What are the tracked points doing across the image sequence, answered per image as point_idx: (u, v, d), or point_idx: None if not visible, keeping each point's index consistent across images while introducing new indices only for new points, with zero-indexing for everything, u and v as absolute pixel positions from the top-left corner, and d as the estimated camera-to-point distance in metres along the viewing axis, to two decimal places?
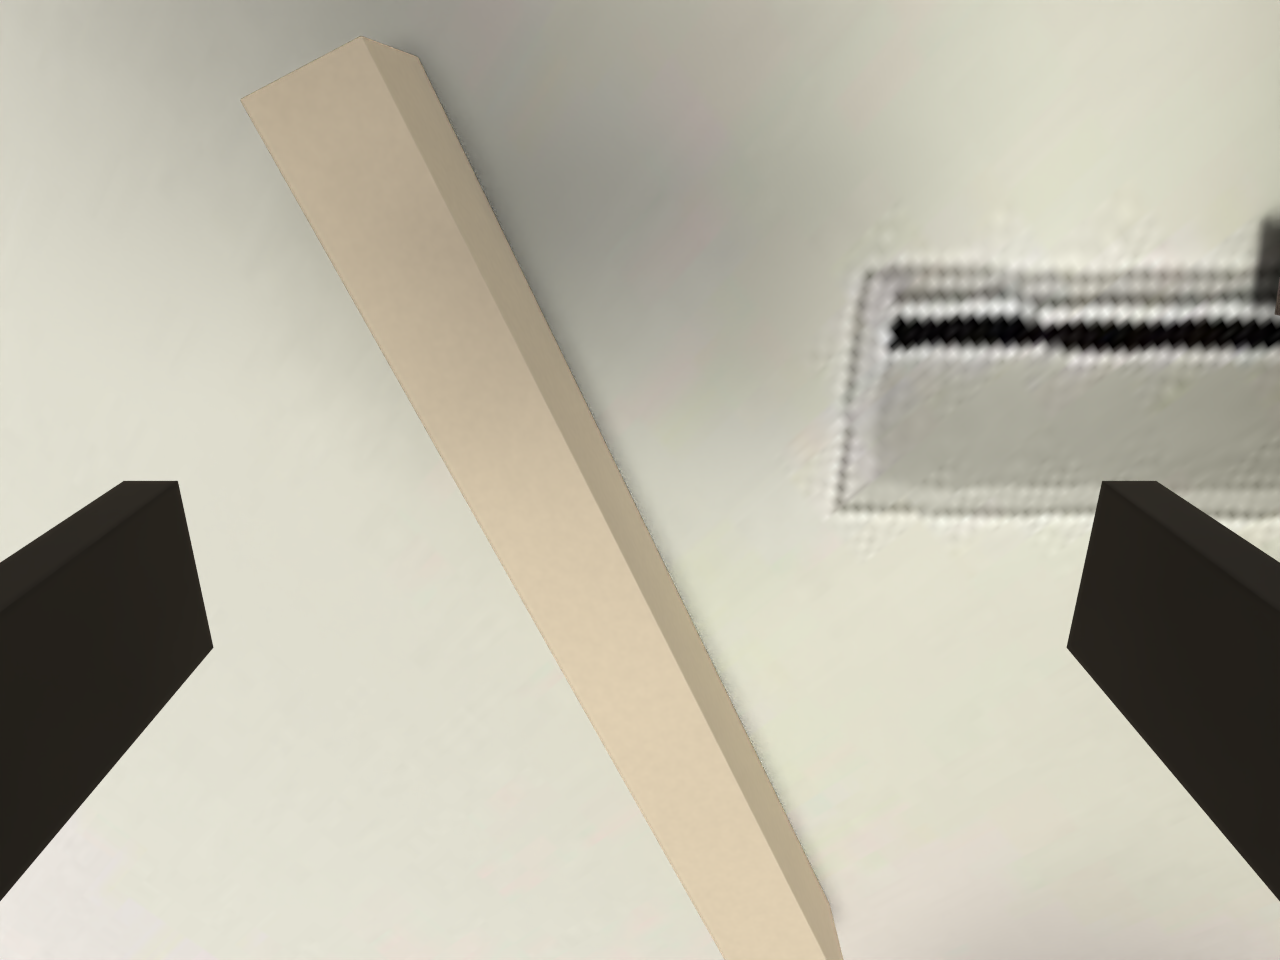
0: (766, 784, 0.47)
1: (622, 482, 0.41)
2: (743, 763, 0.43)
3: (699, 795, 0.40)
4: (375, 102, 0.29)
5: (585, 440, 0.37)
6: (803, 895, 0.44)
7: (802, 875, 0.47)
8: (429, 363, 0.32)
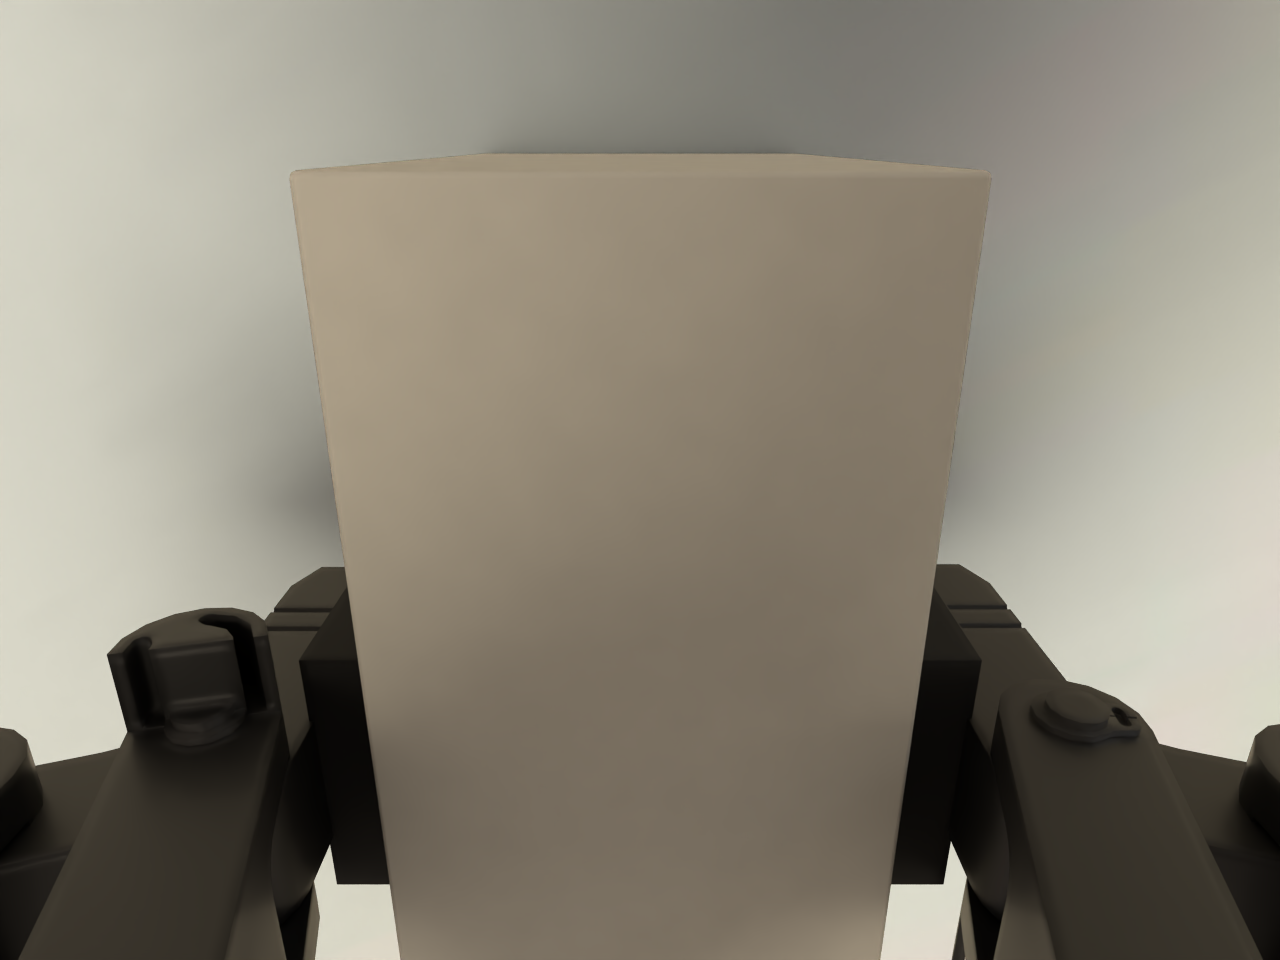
0: None
1: None
2: None
3: None
4: (877, 443, 0.06)
5: None
6: None
7: None
8: None
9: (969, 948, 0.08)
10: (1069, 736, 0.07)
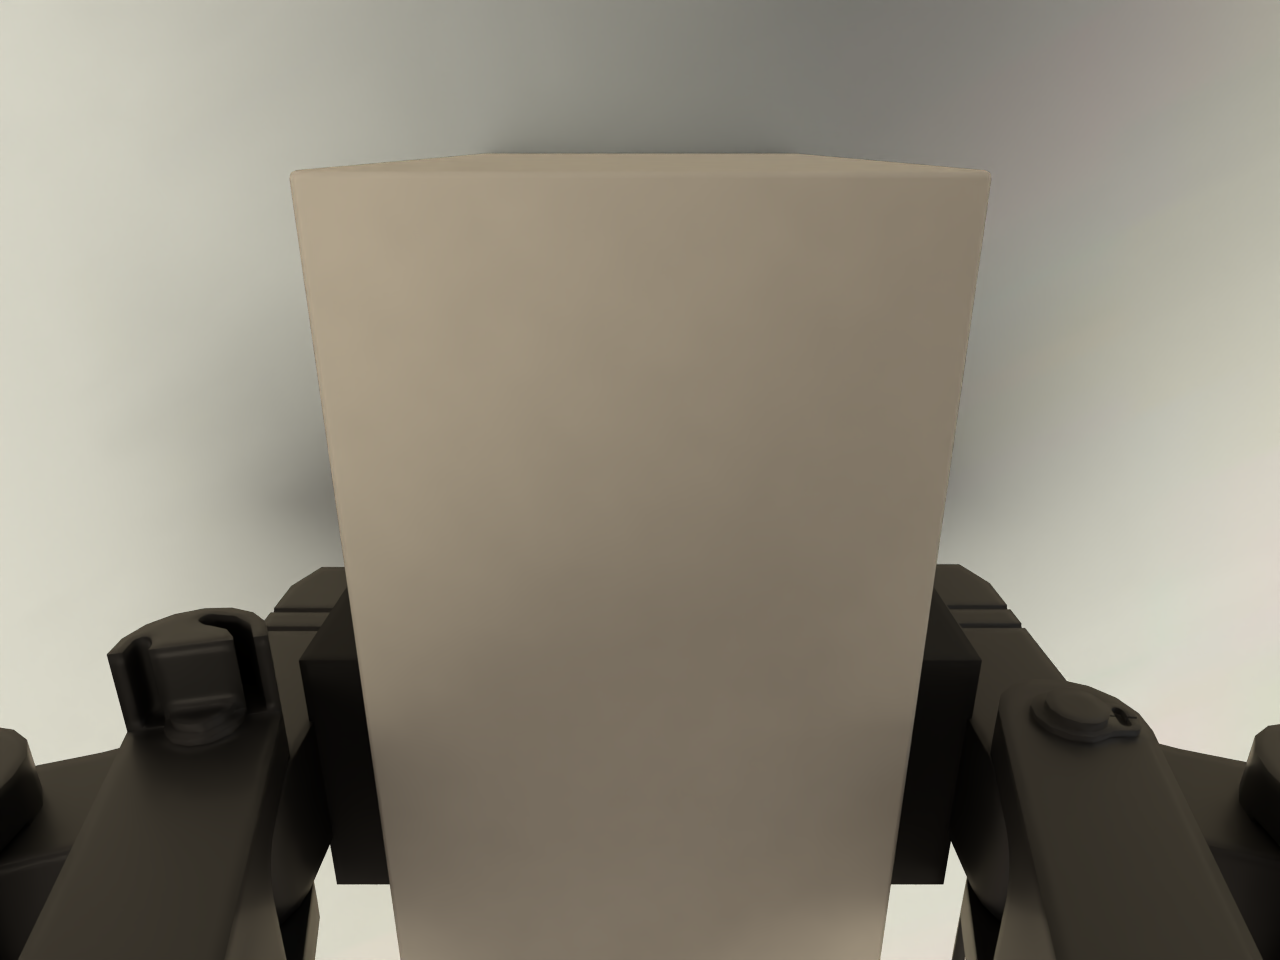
0: None
1: None
2: None
3: None
4: (877, 442, 0.06)
5: None
6: None
7: None
8: None
9: (969, 948, 0.08)
10: (1069, 736, 0.07)
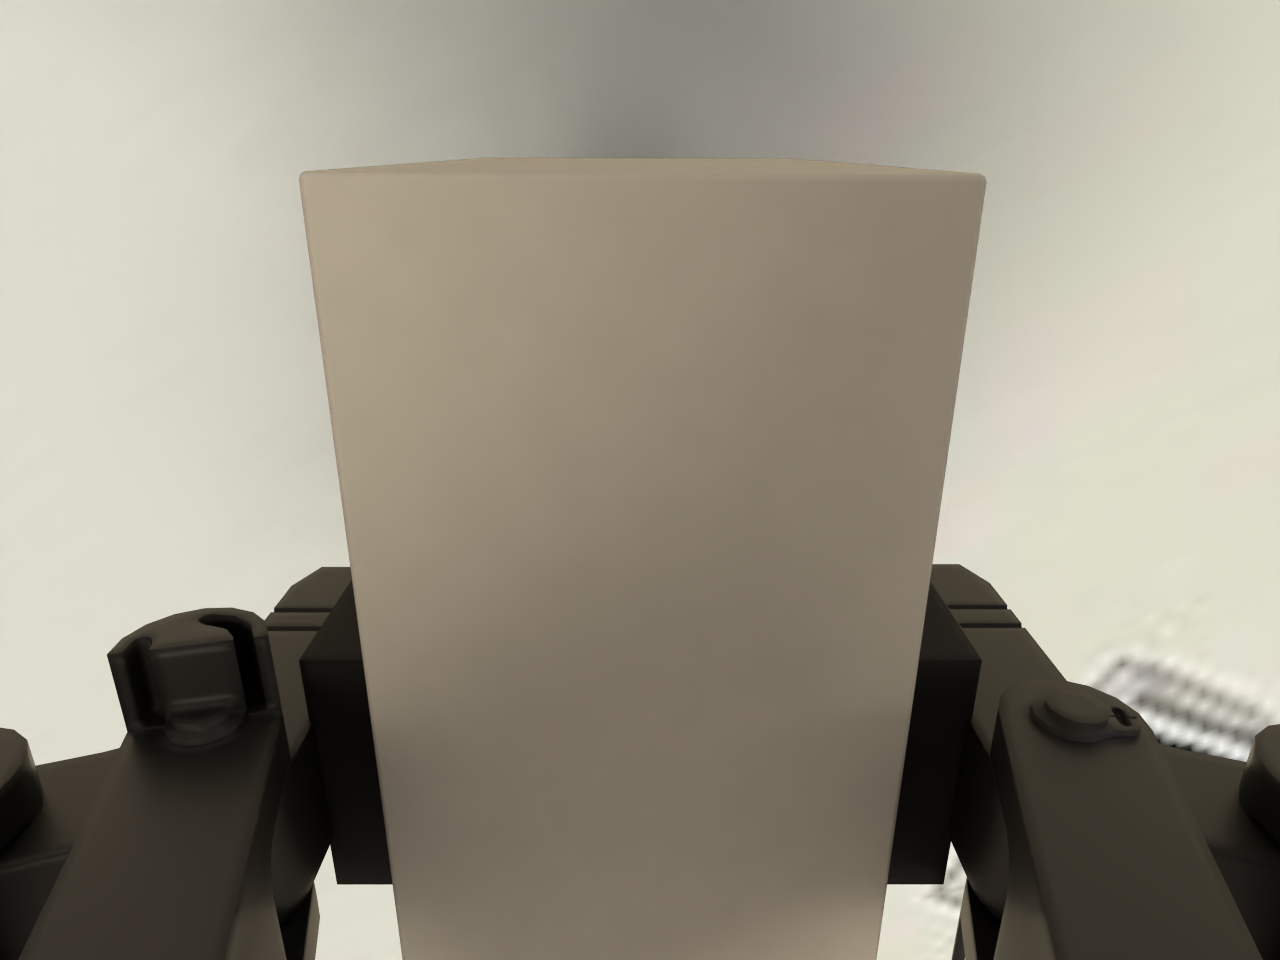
0: None
1: None
2: None
3: None
4: (874, 442, 0.07)
5: None
6: None
7: None
8: None
9: (969, 948, 0.08)
10: (1069, 735, 0.07)
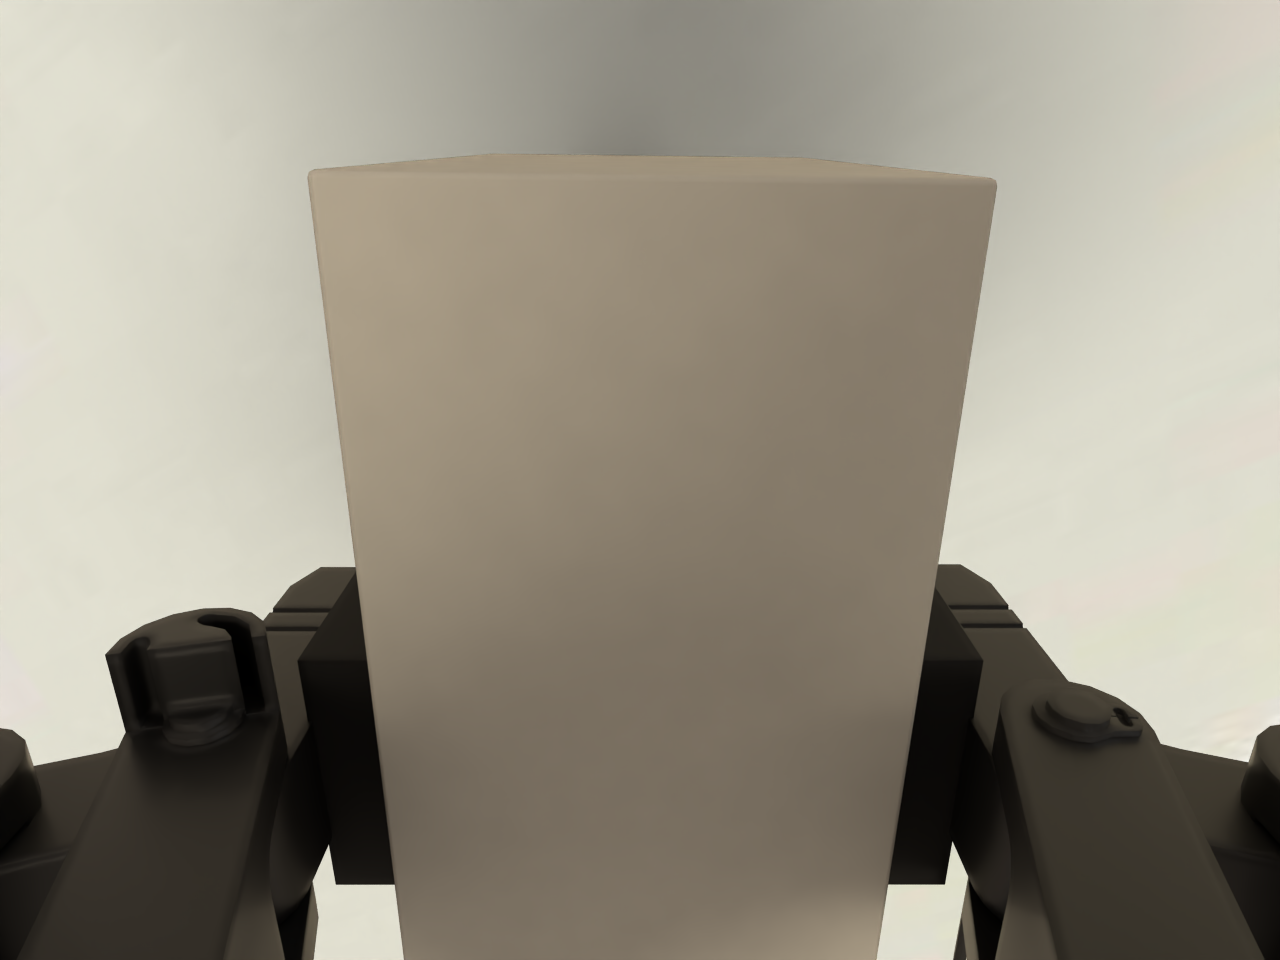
0: None
1: None
2: None
3: None
4: (881, 445, 0.07)
5: None
6: None
7: None
8: None
9: (971, 948, 0.08)
10: (1072, 736, 0.07)
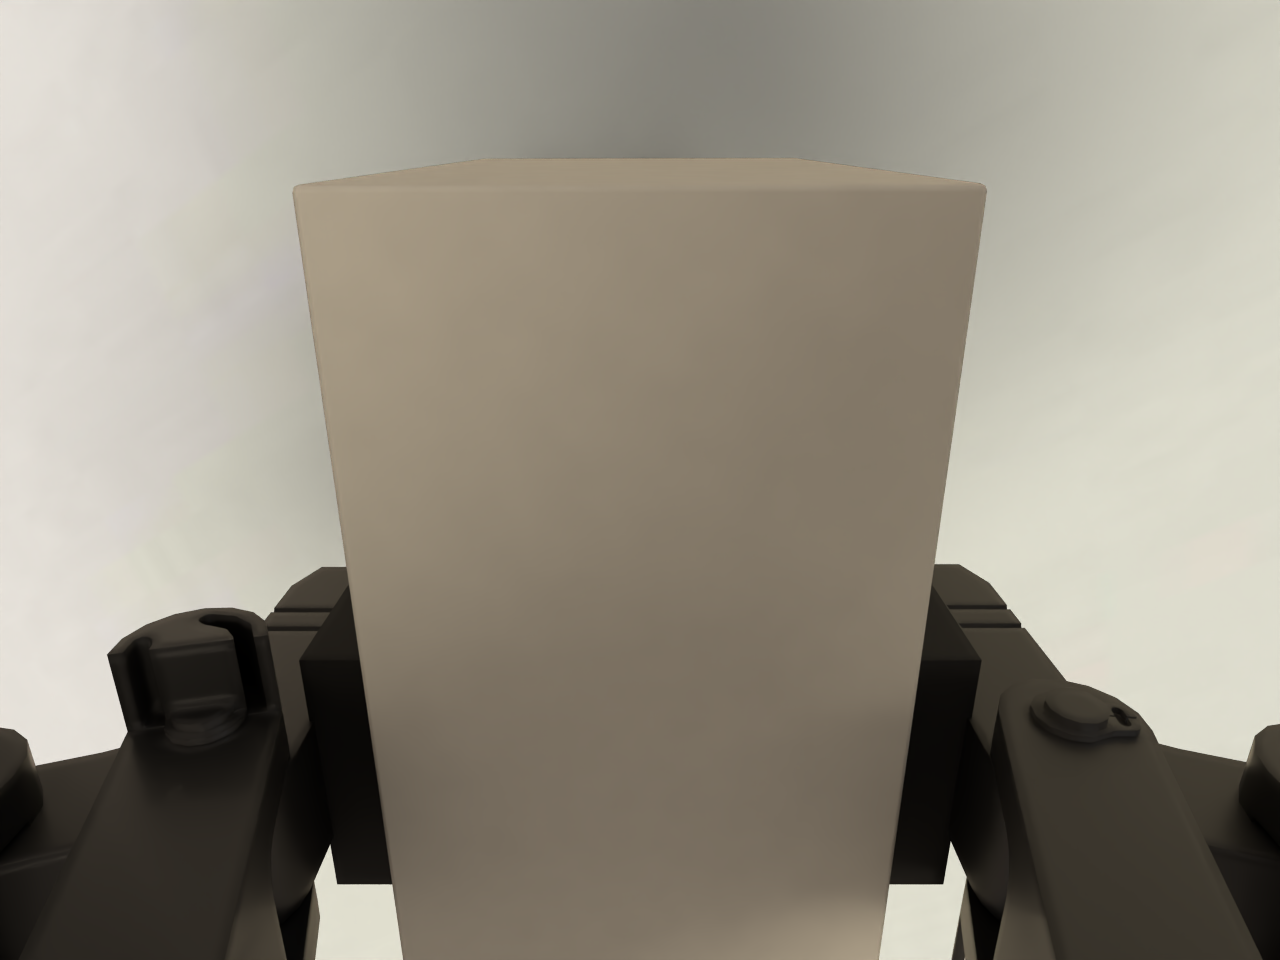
0: None
1: None
2: None
3: None
4: (875, 452, 0.07)
5: None
6: None
7: None
8: None
9: (969, 948, 0.08)
10: (1070, 736, 0.07)
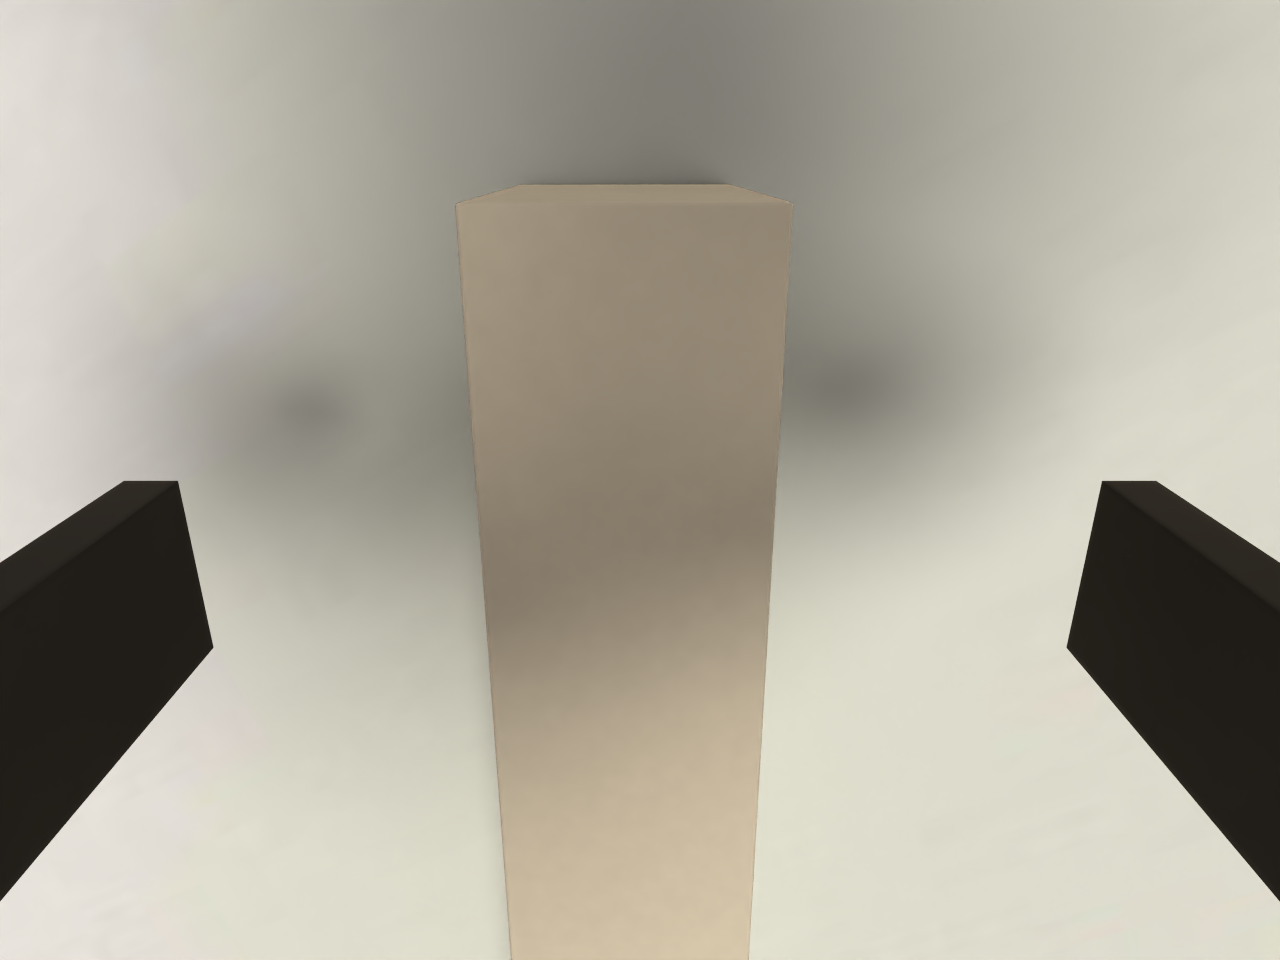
0: None
1: None
2: None
3: None
4: (746, 338, 0.13)
5: None
6: None
7: None
8: (576, 806, 0.16)
9: None
10: None
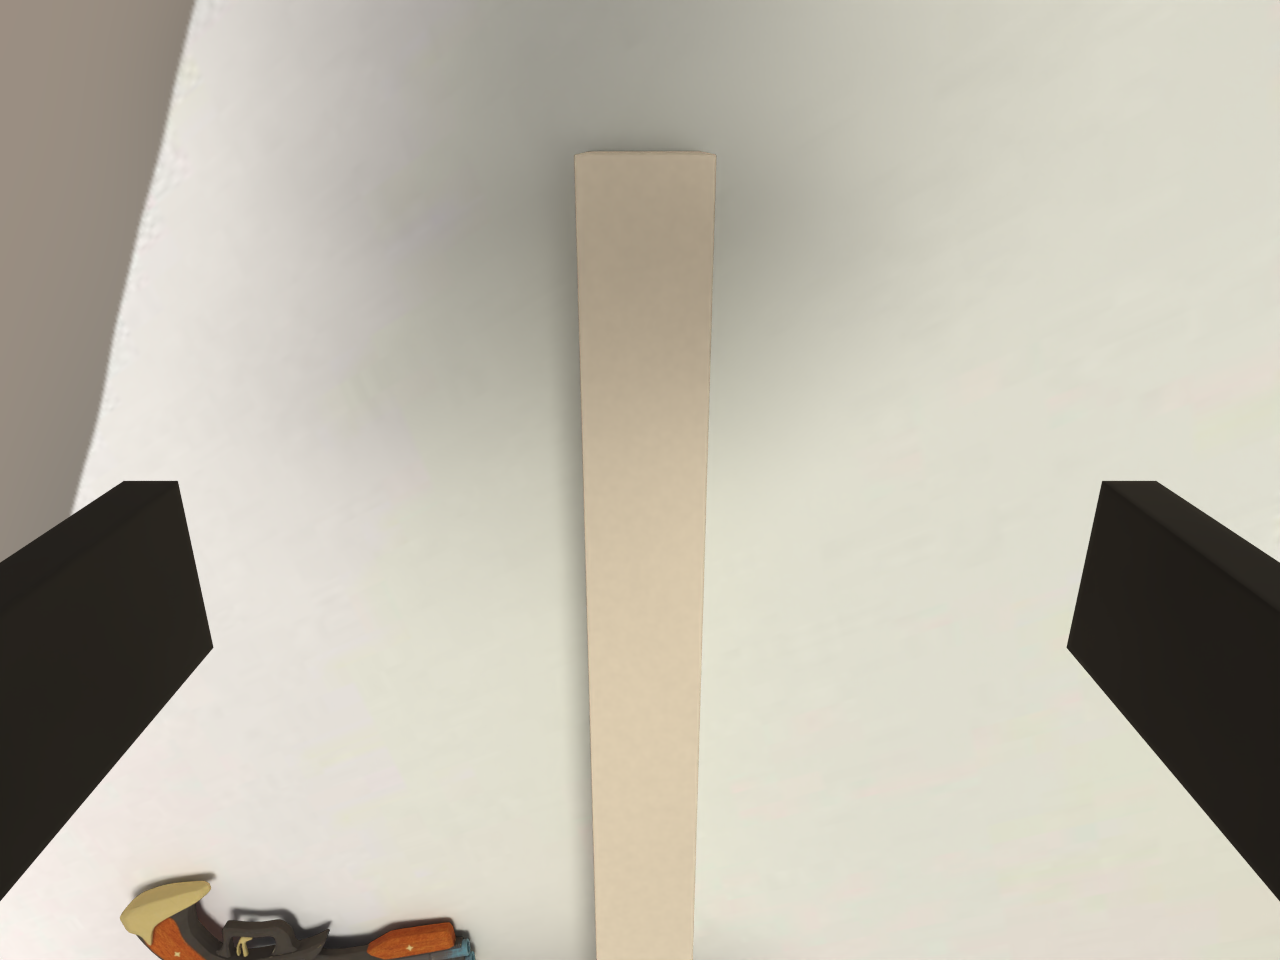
0: None
1: None
2: None
3: (655, 904, 0.41)
4: (697, 214, 0.29)
5: None
6: None
7: None
8: (619, 452, 0.32)
9: None
10: None
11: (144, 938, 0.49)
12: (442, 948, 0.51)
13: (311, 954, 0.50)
